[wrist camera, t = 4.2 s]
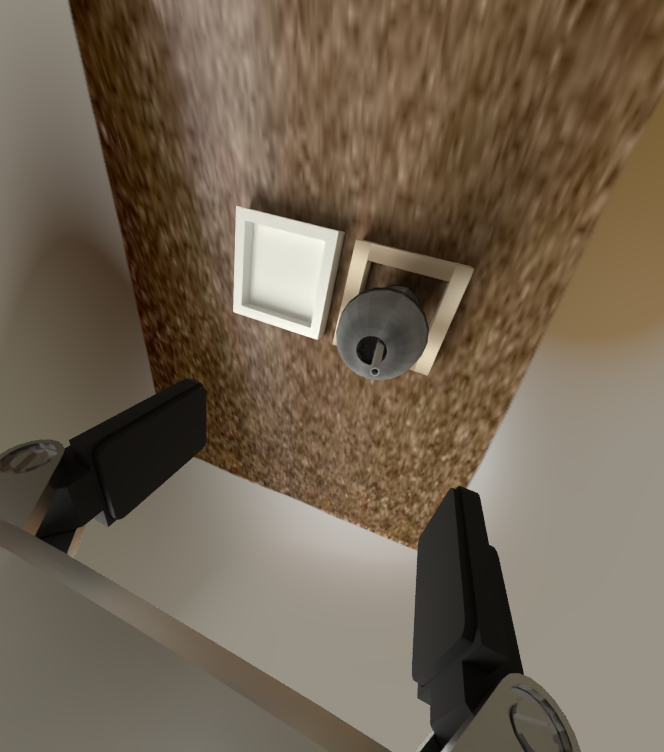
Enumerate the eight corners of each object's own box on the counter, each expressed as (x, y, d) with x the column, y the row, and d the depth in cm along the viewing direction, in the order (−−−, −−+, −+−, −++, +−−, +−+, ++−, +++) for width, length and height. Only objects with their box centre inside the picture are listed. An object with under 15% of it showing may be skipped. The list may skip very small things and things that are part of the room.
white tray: (249, 208, 33) (236, 206, 30) (345, 232, 30) (338, 231, 28) (244, 308, 39) (233, 311, 36) (324, 334, 36) (317, 339, 34)
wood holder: (362, 239, 30) (356, 239, 28) (470, 266, 28) (474, 268, 25) (339, 336, 36) (332, 344, 33) (428, 365, 34) (427, 375, 31)
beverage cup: (355, 292, 33) (270, 346, 16) (414, 259, 29) (387, 284, 12) (382, 345, 34) (331, 447, 17) (440, 320, 31) (449, 416, 14)
